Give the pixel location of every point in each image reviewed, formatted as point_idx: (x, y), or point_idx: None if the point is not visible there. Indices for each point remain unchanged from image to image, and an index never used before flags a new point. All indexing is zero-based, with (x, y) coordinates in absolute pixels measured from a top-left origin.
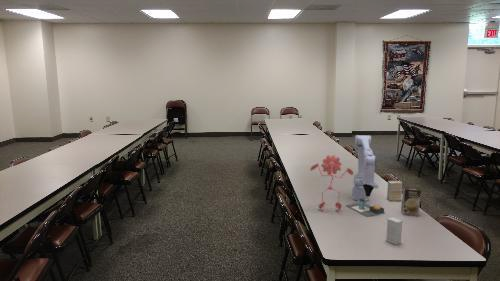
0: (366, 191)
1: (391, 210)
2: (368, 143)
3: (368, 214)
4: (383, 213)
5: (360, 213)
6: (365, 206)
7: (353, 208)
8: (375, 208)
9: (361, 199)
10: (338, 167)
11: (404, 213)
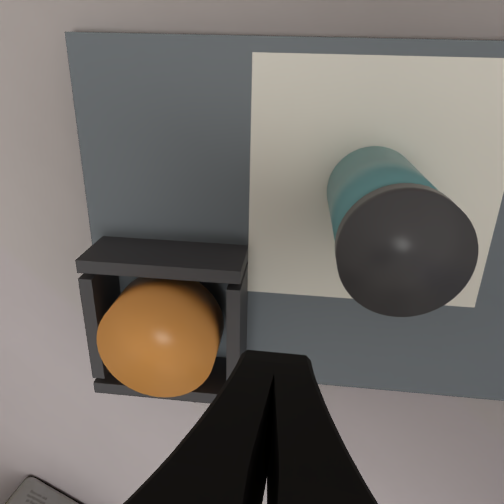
0: (243, 467)
1: None
2: None
3: (117, 107)
4: None
5: (237, 36)
6: None
7: (458, 57)
8: (131, 292)
9: (412, 247)
10: None
11: (15, 493)
